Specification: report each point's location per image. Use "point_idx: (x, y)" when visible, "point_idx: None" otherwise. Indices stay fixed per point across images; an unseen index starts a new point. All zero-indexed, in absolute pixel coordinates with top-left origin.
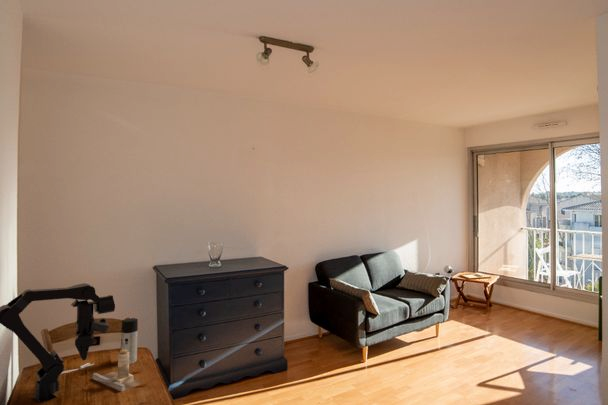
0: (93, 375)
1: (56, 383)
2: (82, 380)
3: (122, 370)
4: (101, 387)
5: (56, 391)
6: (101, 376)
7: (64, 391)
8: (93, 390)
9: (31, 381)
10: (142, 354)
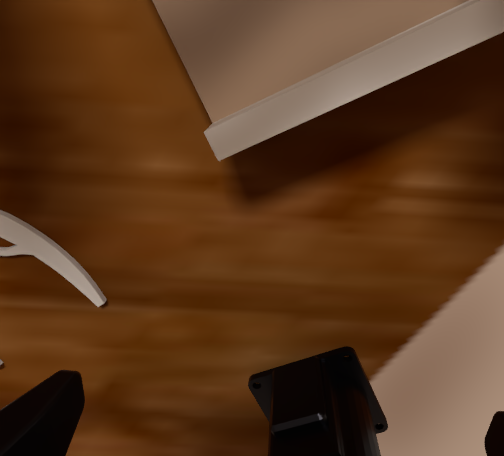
0: (233, 152)
1: (337, 424)
2: (143, 208)
3: None
4: None
5: (332, 377)
6: (346, 84)
7: (289, 318)
8: (403, 147)
9: None
10: None
